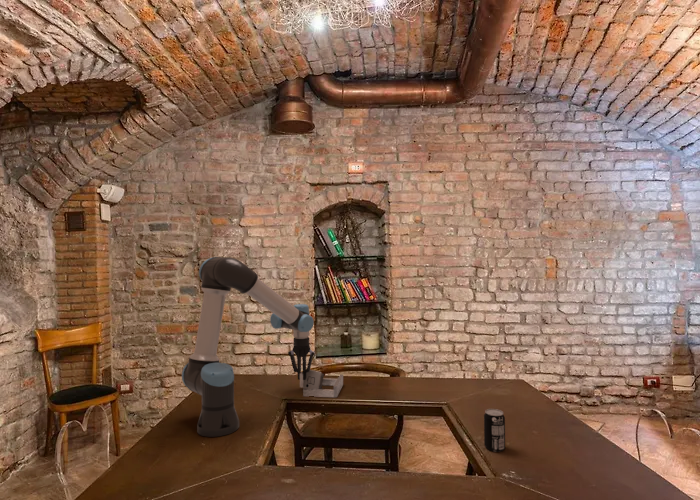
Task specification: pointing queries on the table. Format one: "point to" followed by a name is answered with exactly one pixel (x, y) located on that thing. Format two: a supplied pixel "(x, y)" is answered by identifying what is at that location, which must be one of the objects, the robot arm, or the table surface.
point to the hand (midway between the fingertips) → (302, 386)
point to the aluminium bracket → (326, 392)
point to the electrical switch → (313, 380)
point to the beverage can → (494, 430)
